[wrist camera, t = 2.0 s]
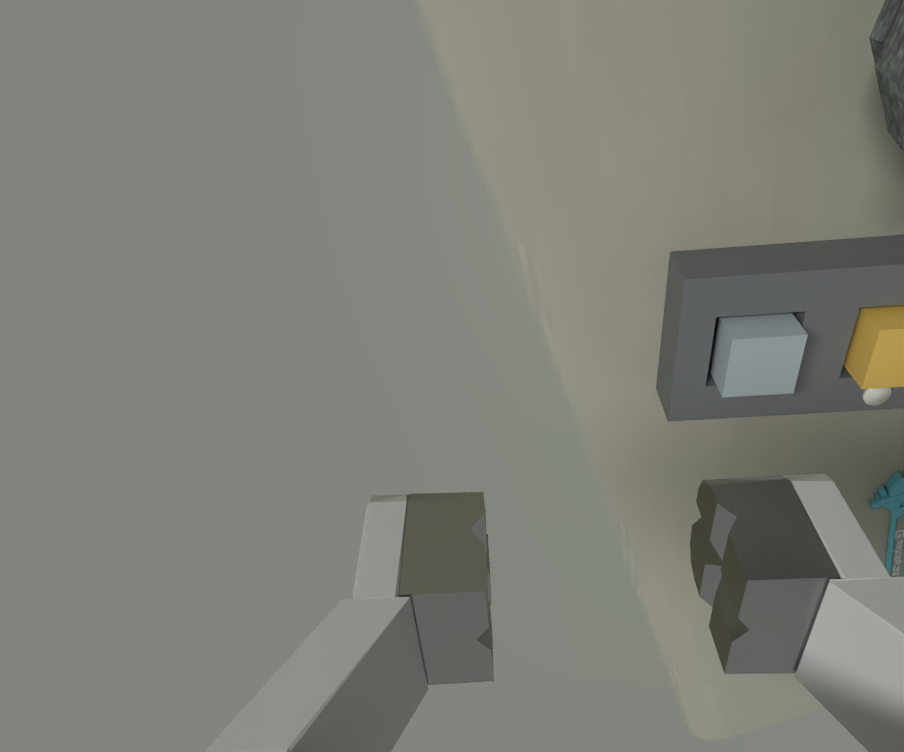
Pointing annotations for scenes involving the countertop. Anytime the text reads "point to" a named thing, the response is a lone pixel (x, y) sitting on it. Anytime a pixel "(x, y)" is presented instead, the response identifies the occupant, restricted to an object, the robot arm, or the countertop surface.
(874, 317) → the button one
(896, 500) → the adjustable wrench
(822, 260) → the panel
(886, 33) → the mortar and pestle
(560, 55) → the countertop surface
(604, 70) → the countertop surface
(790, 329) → the button none
